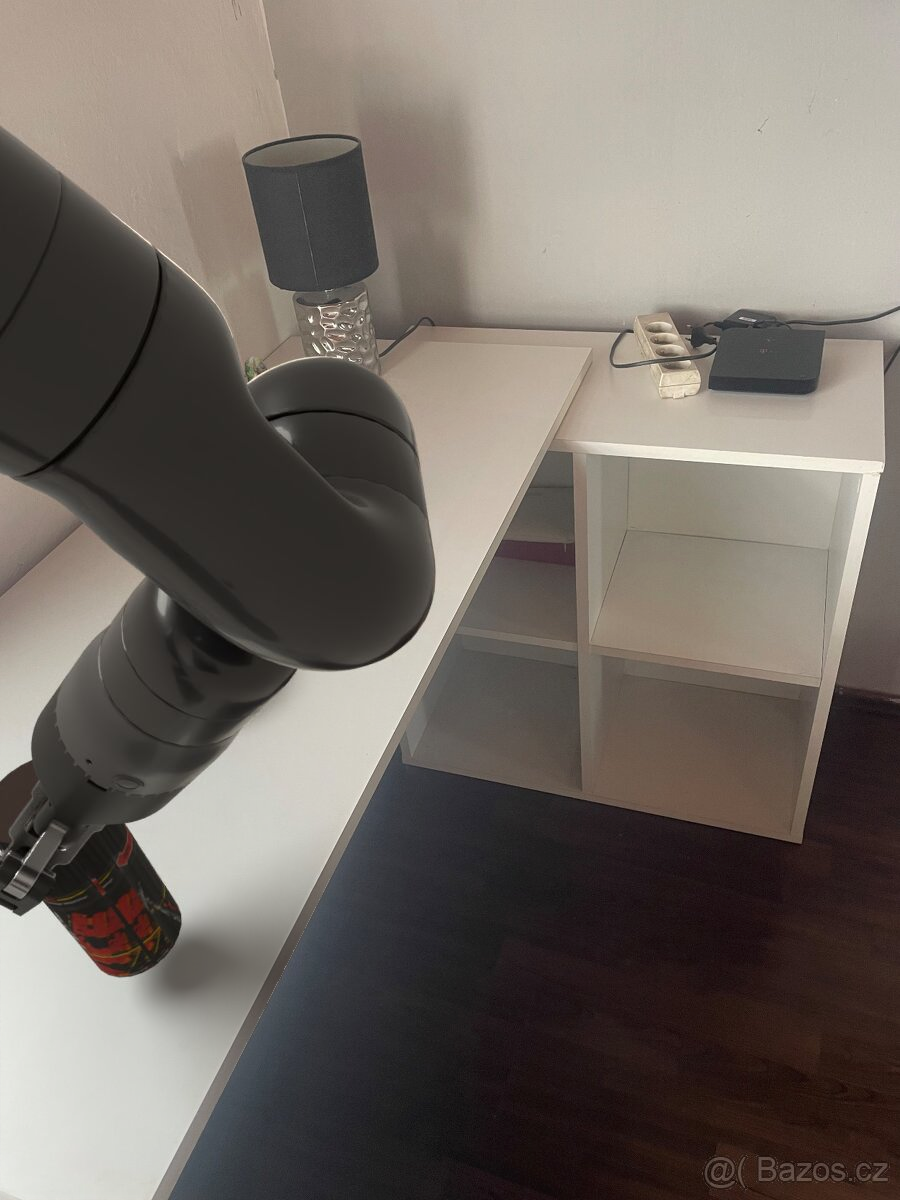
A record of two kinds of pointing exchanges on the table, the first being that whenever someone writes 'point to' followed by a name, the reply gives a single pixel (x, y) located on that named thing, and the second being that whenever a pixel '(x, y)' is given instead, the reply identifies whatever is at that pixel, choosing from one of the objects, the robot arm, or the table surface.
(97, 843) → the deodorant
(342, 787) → the table surface
